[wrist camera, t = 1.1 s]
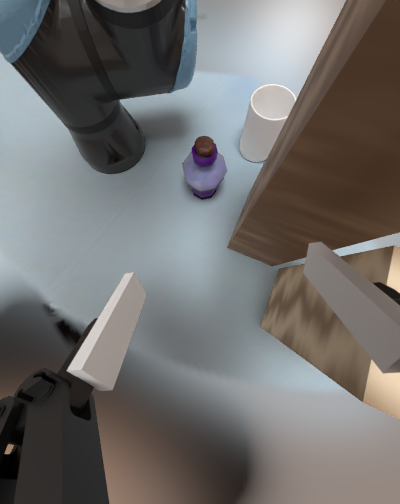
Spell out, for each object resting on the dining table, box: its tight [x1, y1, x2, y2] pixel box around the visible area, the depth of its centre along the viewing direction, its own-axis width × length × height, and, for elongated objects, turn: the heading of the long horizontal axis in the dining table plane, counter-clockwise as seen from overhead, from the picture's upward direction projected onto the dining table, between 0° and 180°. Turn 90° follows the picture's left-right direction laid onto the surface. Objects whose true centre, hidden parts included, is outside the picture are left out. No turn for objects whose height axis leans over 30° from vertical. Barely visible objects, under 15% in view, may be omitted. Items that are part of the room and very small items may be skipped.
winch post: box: [227, 0, 400, 266], centre depth 20 cm, size 14×13×30 cm
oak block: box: [260, 246, 400, 419], centre depth 21 cm, size 12×9×20 cm
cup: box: [239, 84, 296, 162], centre depth 33 cm, size 8×12×10 cm
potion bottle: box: [182, 136, 227, 199], centre depth 31 cm, size 9×9×12 cm
